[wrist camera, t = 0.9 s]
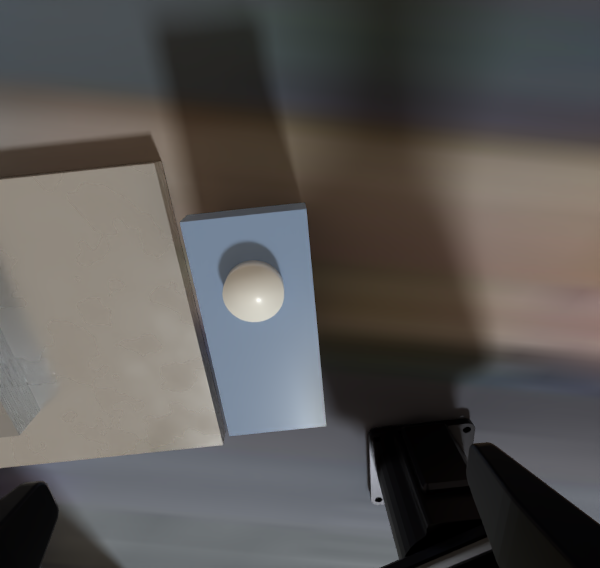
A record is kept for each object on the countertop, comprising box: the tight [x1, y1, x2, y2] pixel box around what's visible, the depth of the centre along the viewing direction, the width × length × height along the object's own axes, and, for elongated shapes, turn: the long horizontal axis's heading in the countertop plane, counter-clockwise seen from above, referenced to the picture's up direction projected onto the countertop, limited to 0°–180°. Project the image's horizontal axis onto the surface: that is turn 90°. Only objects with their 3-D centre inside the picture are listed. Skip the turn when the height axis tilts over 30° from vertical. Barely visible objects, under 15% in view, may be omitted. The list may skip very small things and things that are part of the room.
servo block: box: [180, 203, 326, 436], centre depth 16 cm, size 9×4×7 cm, turn 6°
